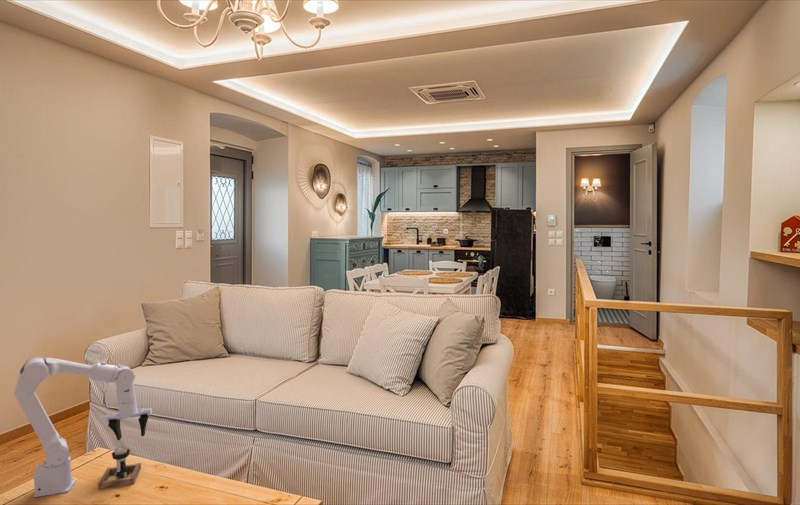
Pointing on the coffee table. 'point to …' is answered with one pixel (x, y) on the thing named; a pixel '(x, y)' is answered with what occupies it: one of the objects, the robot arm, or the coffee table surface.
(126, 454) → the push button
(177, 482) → the coffee table surface
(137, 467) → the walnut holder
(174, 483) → the coffee table surface
